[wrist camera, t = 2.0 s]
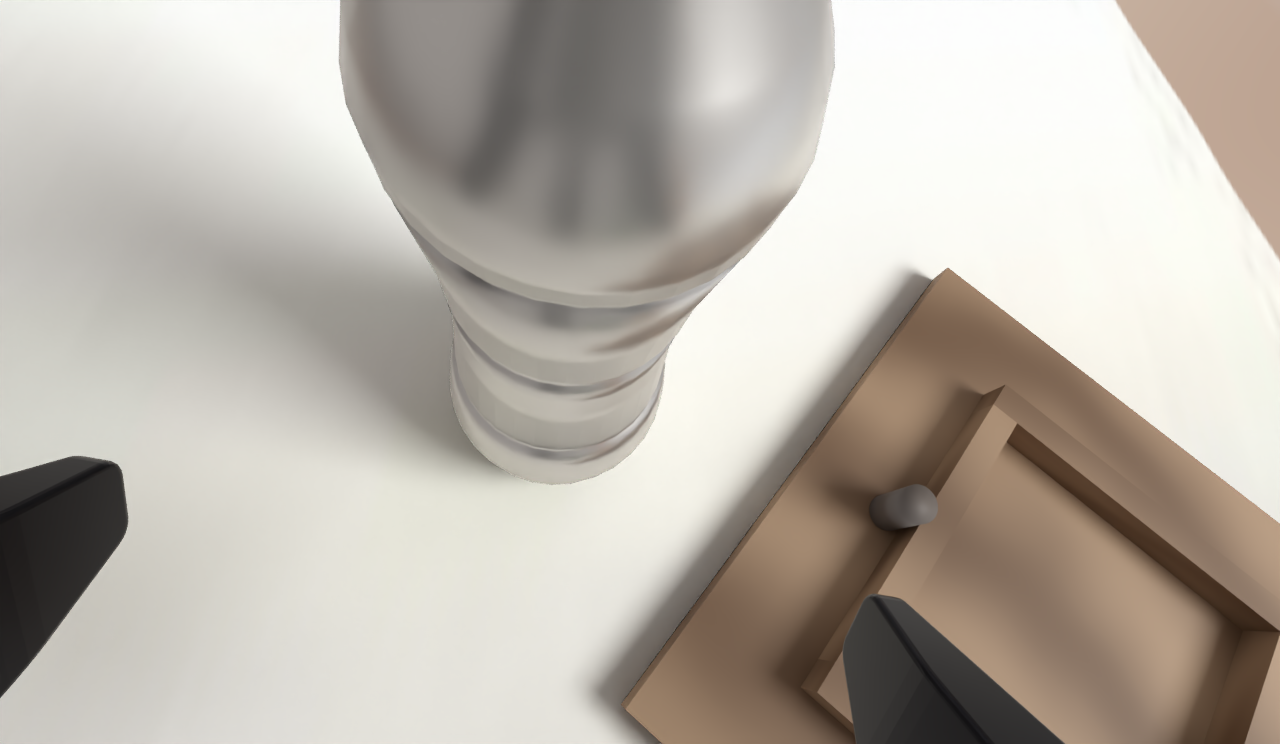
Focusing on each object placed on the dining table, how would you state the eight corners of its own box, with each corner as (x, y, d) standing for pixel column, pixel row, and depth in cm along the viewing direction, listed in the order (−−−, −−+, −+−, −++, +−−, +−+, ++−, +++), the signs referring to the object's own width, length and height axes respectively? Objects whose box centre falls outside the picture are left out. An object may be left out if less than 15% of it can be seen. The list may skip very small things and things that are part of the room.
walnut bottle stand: (1190, 1230, 17) (1319, 1352, 14) (620, 704, 19) (636, 721, 16) (1360, 611, 24) (1467, 611, 21) (933, 279, 26) (980, 240, 24)
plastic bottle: (447, 494, 20) (-394, -641, 2) (469, 303, 23) (197, -1046, 4) (647, 501, 21) (1427, -203, 3) (648, 317, 24) (1076, -735, 5)
